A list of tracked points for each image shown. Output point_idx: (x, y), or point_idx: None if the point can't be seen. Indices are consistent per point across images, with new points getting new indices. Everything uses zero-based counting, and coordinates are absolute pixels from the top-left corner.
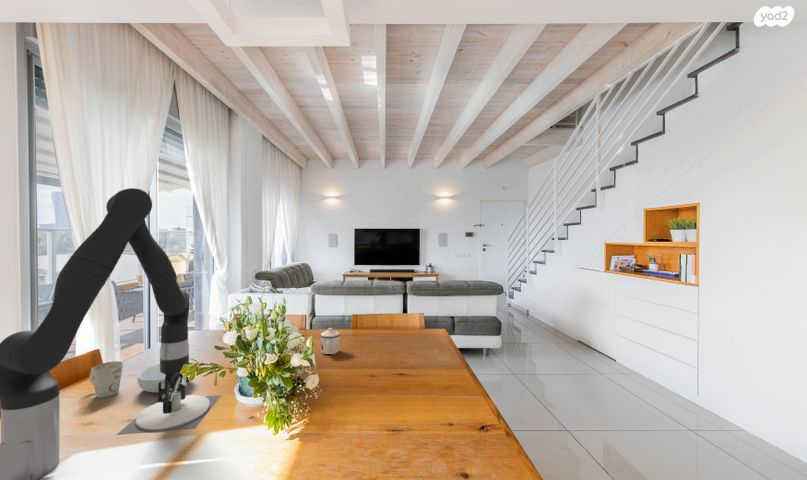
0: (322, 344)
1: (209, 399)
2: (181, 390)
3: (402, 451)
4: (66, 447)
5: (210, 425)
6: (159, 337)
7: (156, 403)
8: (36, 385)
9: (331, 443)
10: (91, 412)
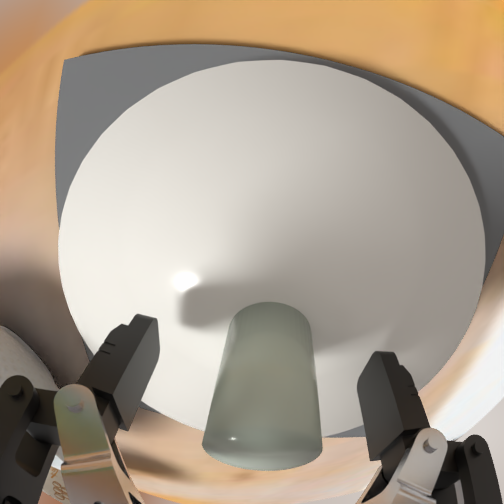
0: None
1: (101, 118)
2: (127, 395)
3: None
4: (360, 470)
5: (495, 66)
6: None
7: (160, 409)
8: None
9: None
10: (179, 474)
